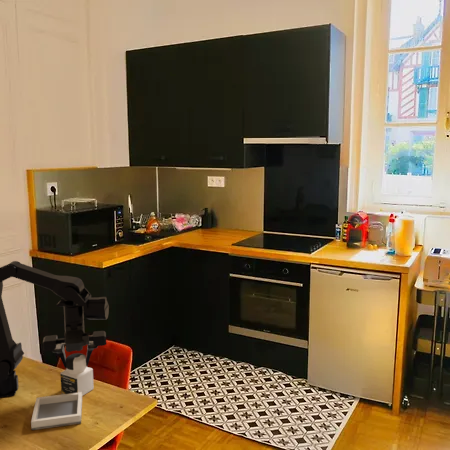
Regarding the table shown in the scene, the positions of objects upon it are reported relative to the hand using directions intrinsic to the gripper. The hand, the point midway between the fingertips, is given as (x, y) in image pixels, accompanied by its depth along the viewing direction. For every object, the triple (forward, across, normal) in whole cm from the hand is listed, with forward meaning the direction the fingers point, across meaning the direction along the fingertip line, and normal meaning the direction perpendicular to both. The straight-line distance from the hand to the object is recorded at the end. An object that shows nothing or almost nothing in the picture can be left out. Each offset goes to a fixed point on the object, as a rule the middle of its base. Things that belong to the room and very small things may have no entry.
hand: (76, 366), depth 151 cm
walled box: (+8, -5, -12) cm, 16 cm away
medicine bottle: (+9, 0, 0) cm, 9 cm away
